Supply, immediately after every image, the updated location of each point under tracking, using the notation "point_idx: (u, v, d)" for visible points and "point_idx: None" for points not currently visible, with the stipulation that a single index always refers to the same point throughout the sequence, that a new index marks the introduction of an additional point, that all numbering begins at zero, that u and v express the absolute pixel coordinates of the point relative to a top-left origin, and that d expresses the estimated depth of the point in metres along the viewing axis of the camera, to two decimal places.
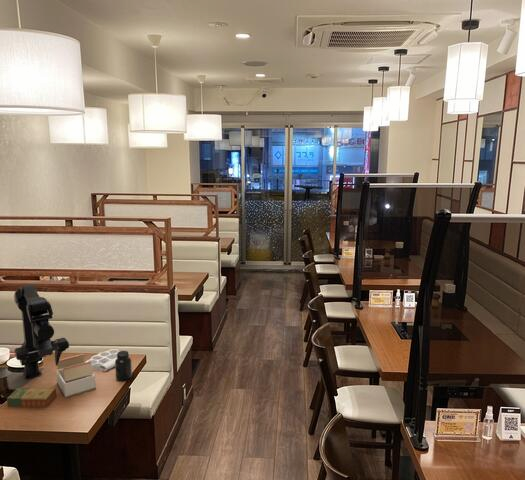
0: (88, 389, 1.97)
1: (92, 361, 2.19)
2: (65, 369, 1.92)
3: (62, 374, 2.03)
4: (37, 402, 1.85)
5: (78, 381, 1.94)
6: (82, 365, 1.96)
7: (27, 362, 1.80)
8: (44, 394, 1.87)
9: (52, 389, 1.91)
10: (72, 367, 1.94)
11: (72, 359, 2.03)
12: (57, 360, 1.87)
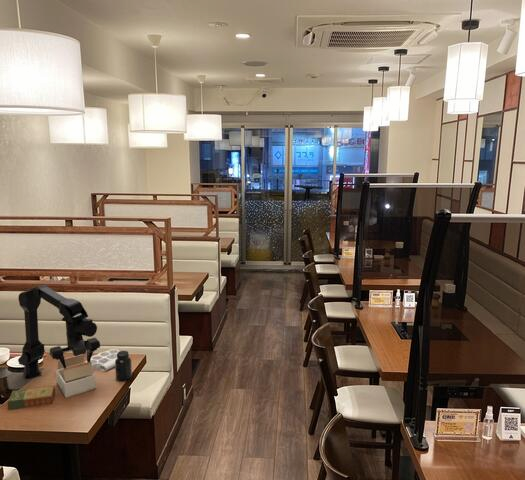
0: (88, 389, 1.97)
1: (92, 361, 2.19)
2: (65, 369, 1.92)
3: (62, 374, 2.03)
4: (41, 400, 1.86)
5: (78, 381, 1.94)
6: (82, 365, 1.96)
7: (62, 361, 1.90)
8: (47, 392, 1.89)
9: (52, 387, 1.93)
10: (72, 367, 1.93)
11: (72, 359, 2.03)
12: (89, 359, 1.98)
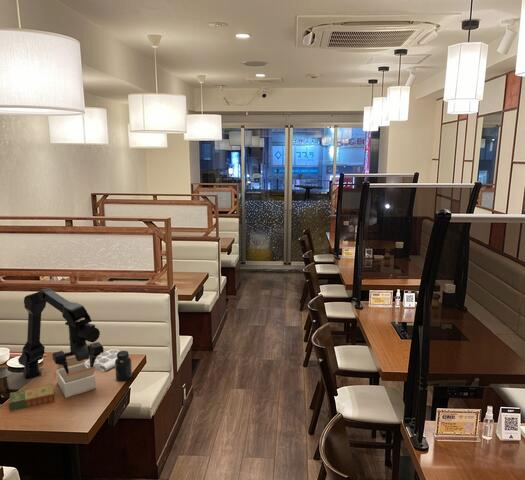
0: (88, 389, 1.97)
1: None
2: (68, 375, 1.89)
3: (62, 374, 2.03)
4: (43, 399, 1.87)
5: (78, 381, 1.94)
6: (85, 371, 1.92)
7: (64, 366, 1.87)
8: (48, 391, 1.90)
9: (50, 385, 1.94)
10: (75, 373, 1.90)
11: (72, 359, 2.03)
12: (92, 364, 1.94)
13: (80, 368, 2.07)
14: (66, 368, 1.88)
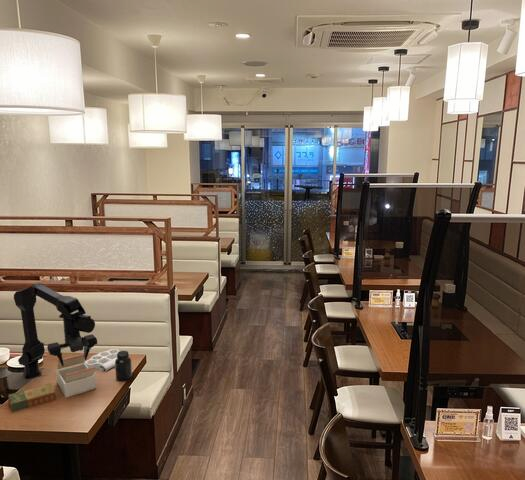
0: (88, 389, 1.97)
1: (92, 361, 2.19)
2: (68, 375, 1.89)
3: (62, 374, 2.03)
4: (45, 398, 1.88)
5: (78, 381, 1.94)
6: (85, 371, 1.92)
7: (59, 357, 1.93)
8: (48, 389, 1.91)
9: (49, 384, 1.95)
10: (75, 373, 1.90)
11: (72, 359, 2.03)
12: (86, 355, 2.00)
13: (80, 368, 2.07)
14: (61, 359, 1.94)
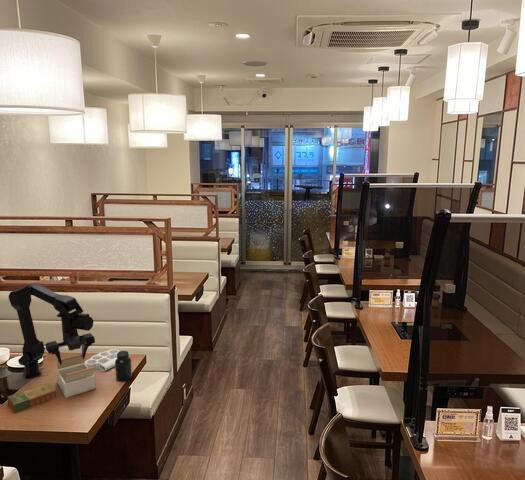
0: (88, 389, 1.97)
1: (92, 361, 2.19)
2: (68, 375, 1.89)
3: (62, 374, 2.03)
4: (46, 397, 1.89)
5: (78, 381, 1.94)
6: (85, 371, 1.92)
7: (57, 355, 1.96)
8: (48, 388, 1.91)
9: (47, 384, 1.95)
10: (75, 373, 1.90)
11: (72, 359, 2.03)
12: (84, 354, 2.03)
13: (80, 368, 2.07)
14: (59, 357, 1.97)
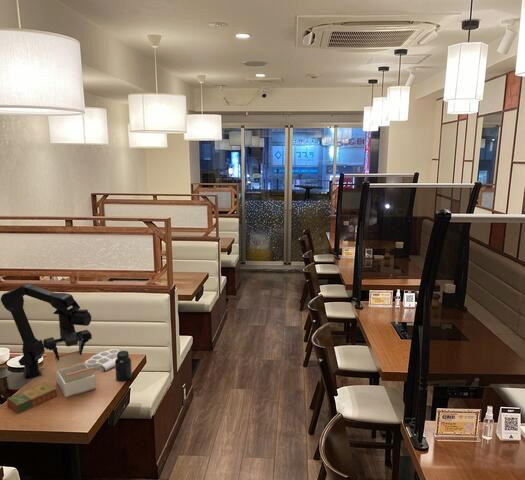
0: (88, 389, 1.97)
1: (92, 361, 2.19)
2: (68, 375, 1.89)
3: (62, 374, 2.03)
4: (47, 395, 1.90)
5: (78, 381, 1.94)
6: (85, 371, 1.92)
7: (55, 351, 2.00)
8: (48, 387, 1.92)
9: (45, 383, 1.96)
10: (75, 373, 1.90)
11: (70, 355, 2.06)
12: (81, 350, 2.07)
13: (80, 368, 2.07)
14: (56, 353, 2.00)
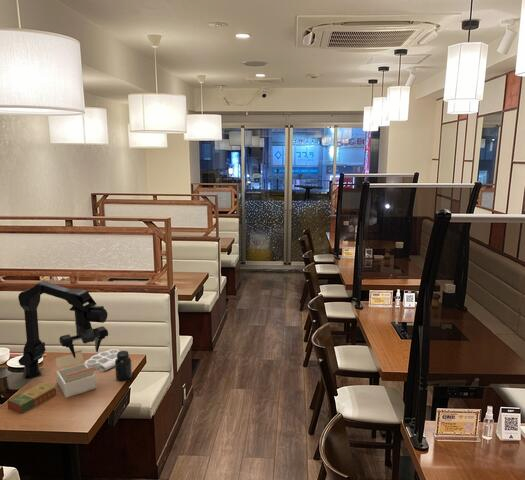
0: (88, 389, 1.97)
1: (92, 361, 2.19)
2: (68, 375, 1.89)
3: (62, 374, 2.03)
4: (48, 394, 1.91)
5: (78, 381, 1.94)
6: (85, 371, 1.92)
7: (71, 349, 1.96)
8: (47, 386, 1.93)
9: (42, 383, 1.96)
10: (75, 373, 1.90)
11: (69, 355, 2.06)
12: (97, 347, 2.03)
13: (80, 368, 2.07)
14: (73, 351, 1.97)
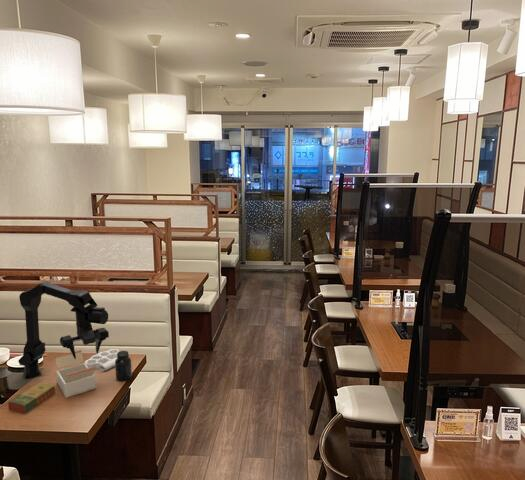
0: (88, 389, 1.97)
1: (92, 361, 2.19)
2: (68, 375, 1.89)
3: (62, 374, 2.03)
4: (48, 393, 1.91)
5: (78, 381, 1.94)
6: (85, 371, 1.92)
7: (72, 350, 1.96)
8: (46, 386, 1.94)
9: (40, 383, 1.96)
10: (75, 373, 1.90)
11: (69, 355, 2.06)
12: (98, 348, 2.03)
13: (80, 368, 2.07)
14: (73, 352, 1.97)
